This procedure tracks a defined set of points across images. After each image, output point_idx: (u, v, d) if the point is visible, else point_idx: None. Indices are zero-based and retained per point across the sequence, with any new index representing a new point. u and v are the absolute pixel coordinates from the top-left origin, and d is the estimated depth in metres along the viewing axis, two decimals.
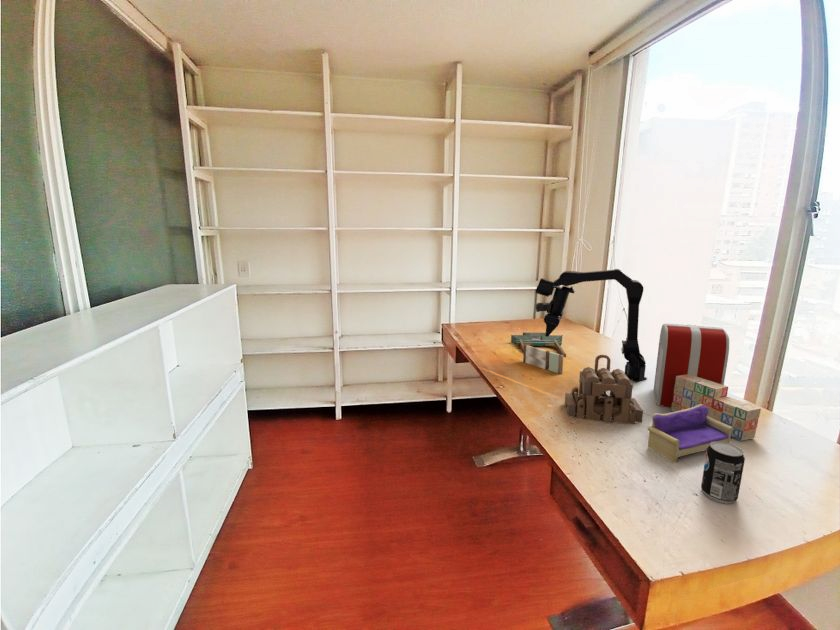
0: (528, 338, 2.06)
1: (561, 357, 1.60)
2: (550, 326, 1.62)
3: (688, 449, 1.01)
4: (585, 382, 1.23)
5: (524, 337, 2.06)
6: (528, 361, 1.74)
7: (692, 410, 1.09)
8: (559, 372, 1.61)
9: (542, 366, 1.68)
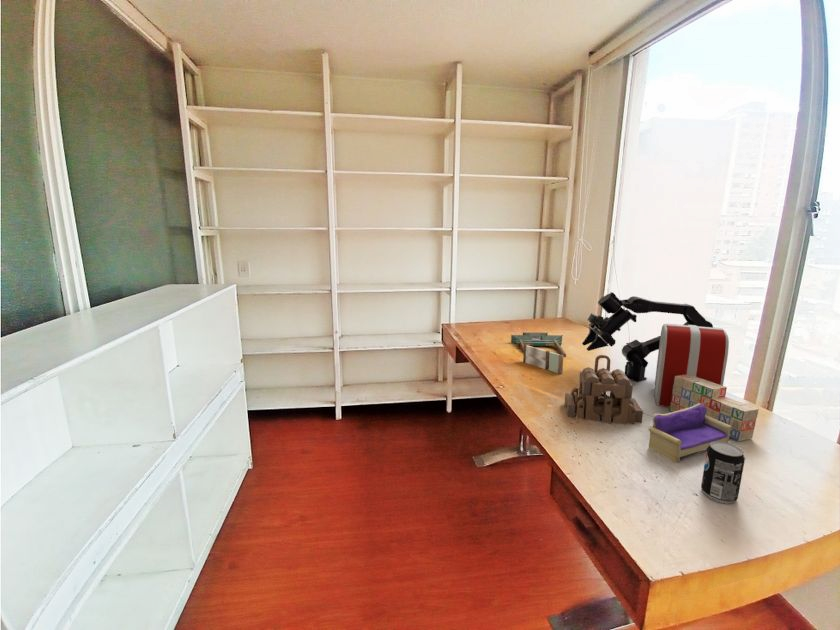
0: (528, 338, 2.06)
1: (561, 357, 1.60)
2: (598, 343, 1.52)
3: (689, 449, 1.01)
4: (584, 382, 1.23)
5: (524, 337, 2.06)
6: (528, 361, 1.74)
7: (691, 409, 1.09)
8: (559, 372, 1.61)
9: (542, 366, 1.68)
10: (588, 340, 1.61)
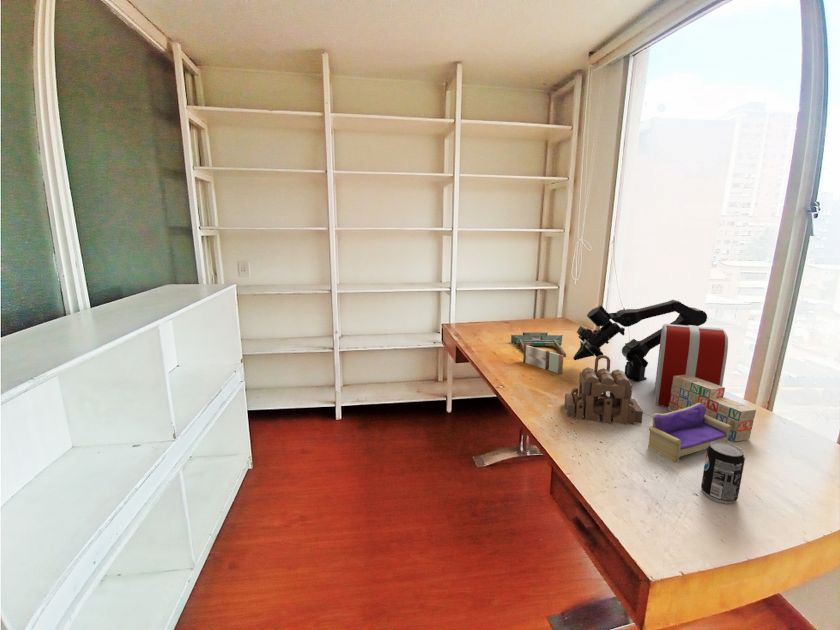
0: (528, 338, 2.06)
1: (561, 357, 1.60)
2: (584, 352, 1.57)
3: (689, 448, 1.01)
4: (584, 382, 1.23)
5: (524, 337, 2.06)
6: (528, 361, 1.74)
7: (691, 409, 1.09)
8: (559, 372, 1.61)
9: (542, 366, 1.68)
10: None
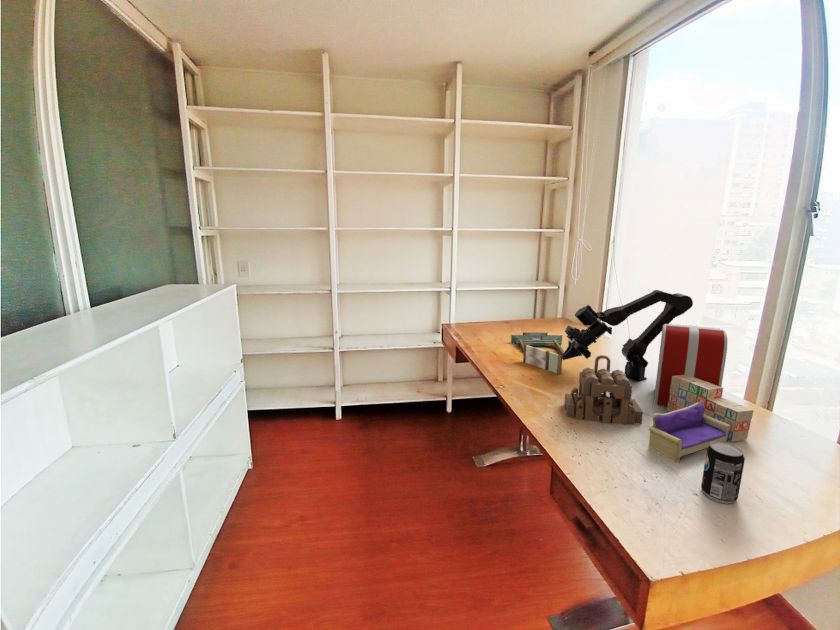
0: (528, 338, 2.06)
1: (560, 357, 1.59)
2: (573, 352, 1.57)
3: (689, 448, 1.02)
4: (584, 383, 1.23)
5: (524, 337, 2.06)
6: (528, 361, 1.74)
7: (690, 409, 1.10)
8: (558, 372, 1.61)
9: (542, 366, 1.68)
10: None
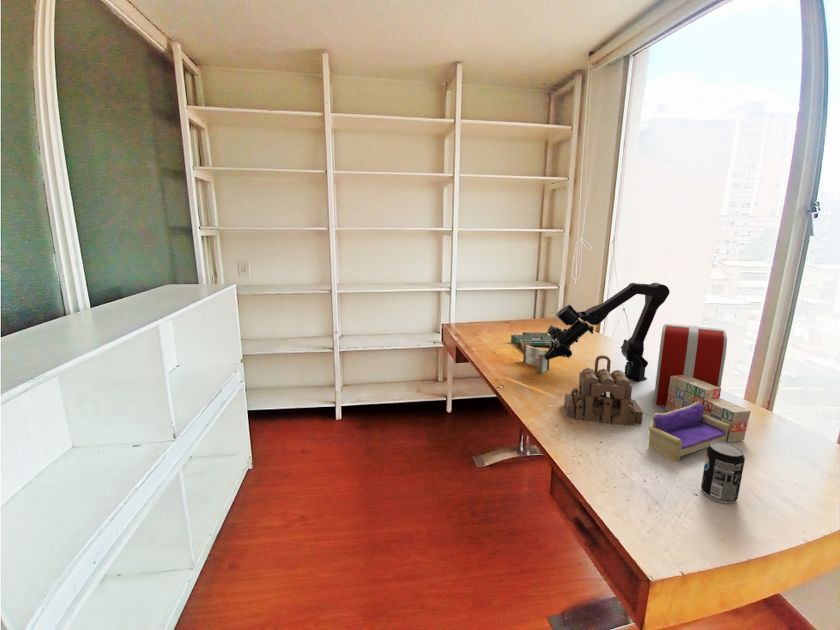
0: (528, 338, 2.06)
1: (538, 356, 1.61)
2: (555, 352, 1.58)
3: (689, 448, 1.02)
4: (583, 383, 1.23)
5: (524, 337, 2.06)
6: (528, 361, 1.74)
7: (689, 408, 1.10)
8: None
9: None
10: None
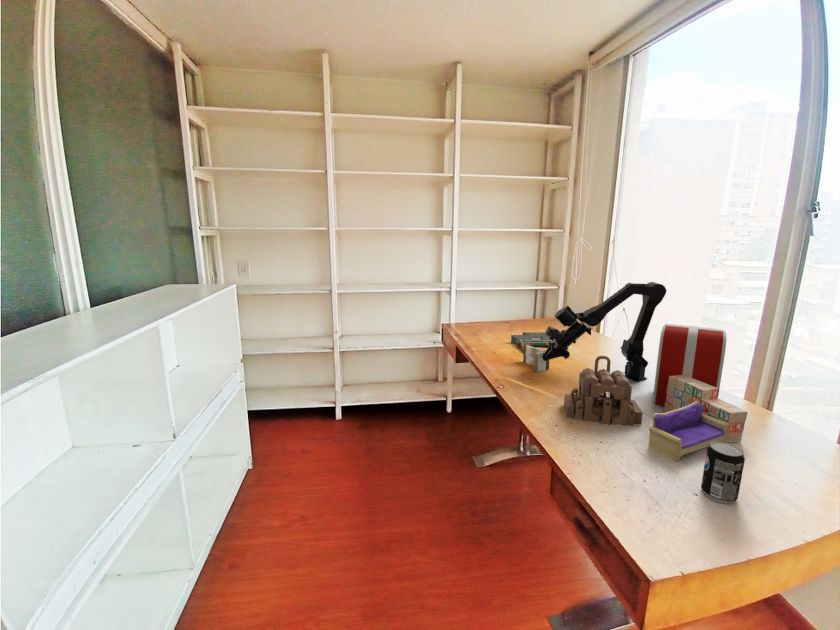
0: (528, 338, 2.06)
1: (534, 355, 1.63)
2: (553, 353, 1.58)
3: (689, 448, 1.02)
4: (583, 383, 1.22)
5: (524, 337, 2.06)
6: (528, 361, 1.74)
7: (689, 408, 1.10)
8: None
9: None
10: None
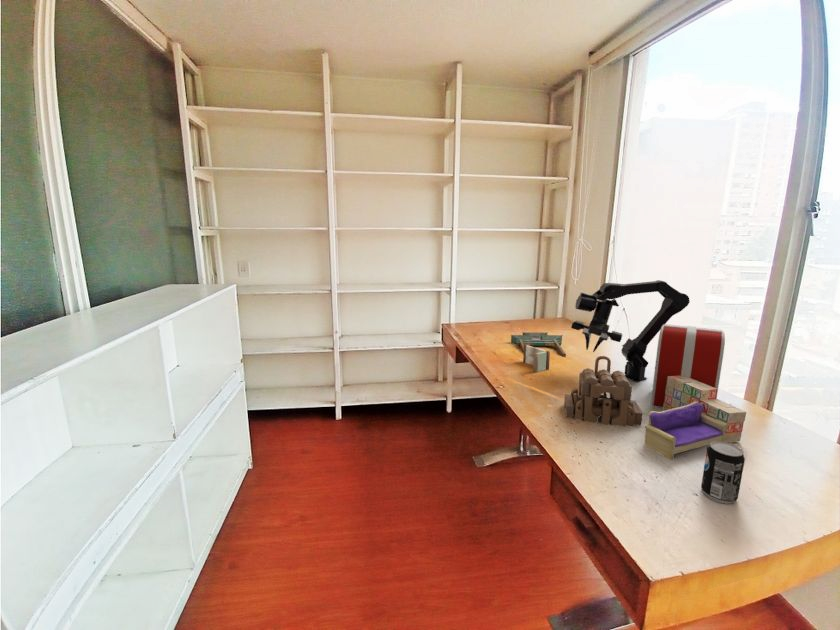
0: (528, 338, 2.06)
1: (534, 355, 1.63)
2: None
3: (684, 446, 1.03)
4: (583, 383, 1.22)
5: (524, 337, 2.06)
6: (528, 361, 1.74)
7: (687, 408, 1.10)
8: None
9: None
10: None
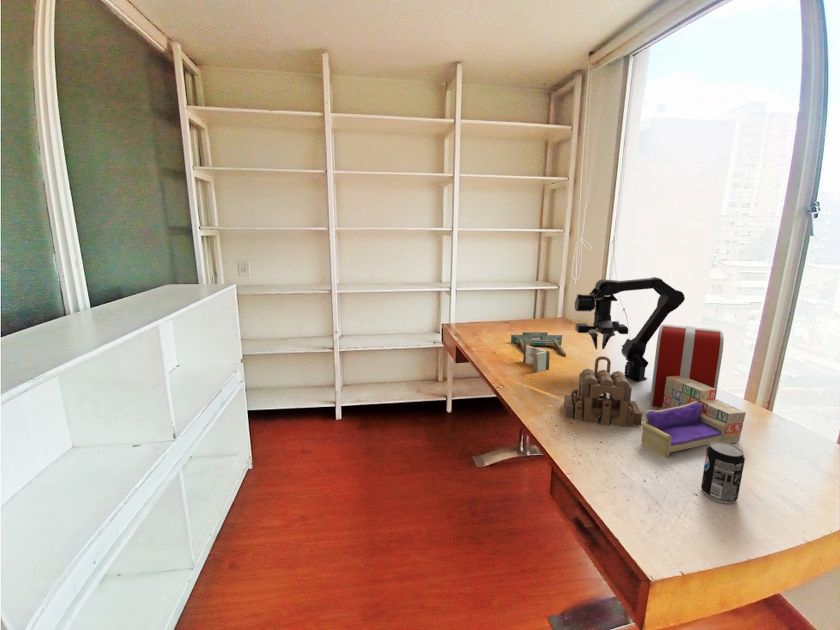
0: (528, 338, 2.06)
1: (534, 355, 1.63)
2: None
3: (680, 445, 1.03)
4: (582, 384, 1.22)
5: (524, 337, 2.06)
6: (528, 361, 1.74)
7: (686, 407, 1.11)
8: None
9: None
10: None
